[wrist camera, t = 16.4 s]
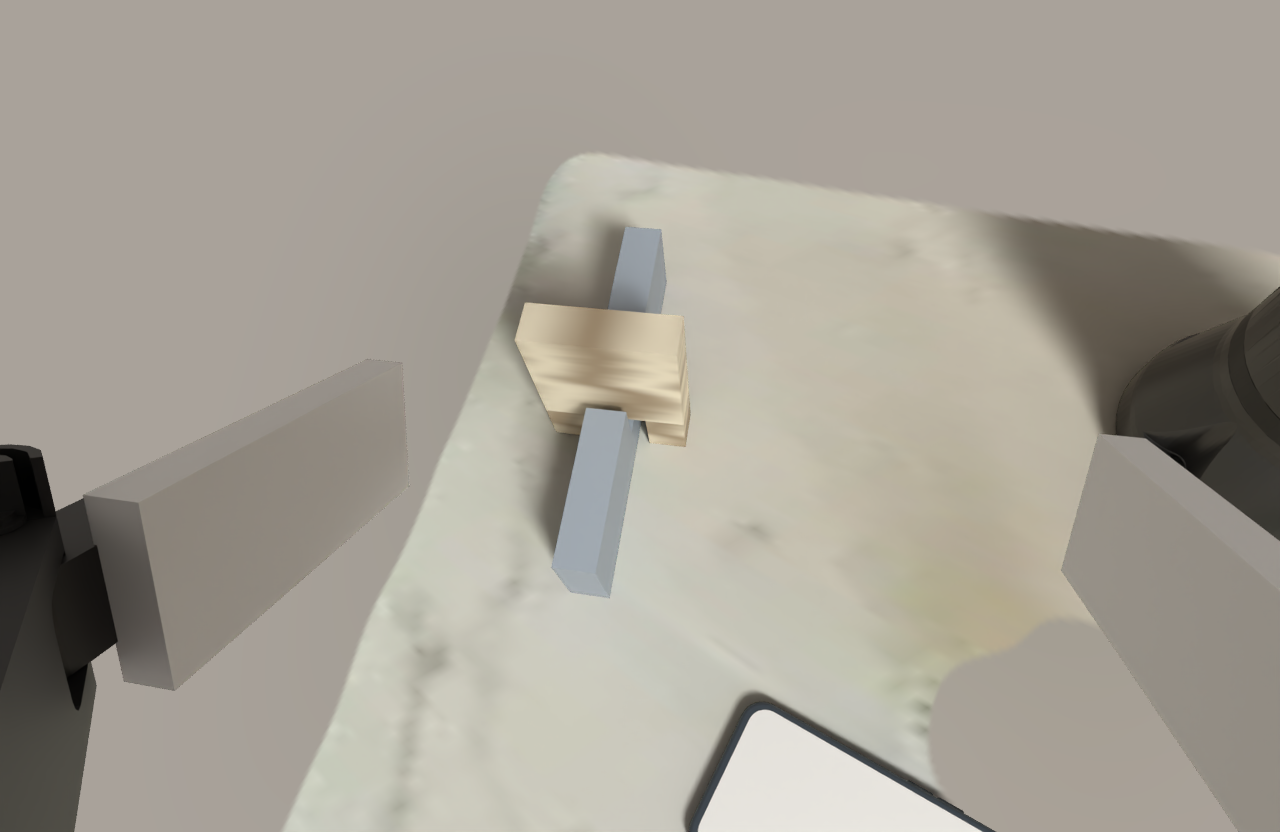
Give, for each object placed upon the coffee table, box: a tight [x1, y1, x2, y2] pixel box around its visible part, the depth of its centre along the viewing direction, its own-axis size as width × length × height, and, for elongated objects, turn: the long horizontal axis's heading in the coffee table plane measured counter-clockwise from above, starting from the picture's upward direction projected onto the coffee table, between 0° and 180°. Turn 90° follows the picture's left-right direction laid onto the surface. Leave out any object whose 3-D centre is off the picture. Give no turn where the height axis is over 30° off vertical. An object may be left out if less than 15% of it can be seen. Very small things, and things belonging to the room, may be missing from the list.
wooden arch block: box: [515, 302, 690, 447], centre depth 46 cm, size 9×2×12 cm, turn 81°
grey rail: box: [552, 227, 666, 598], centre depth 49 cm, size 2×24×6 cm, turn 171°
